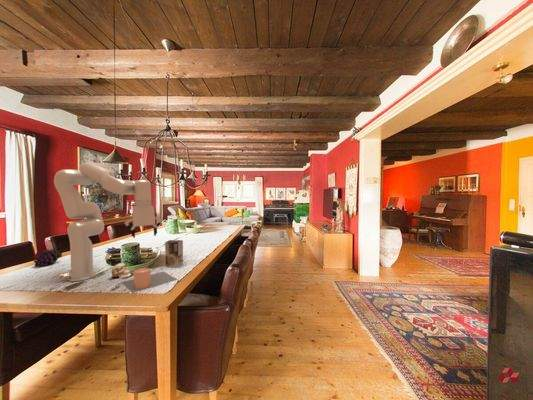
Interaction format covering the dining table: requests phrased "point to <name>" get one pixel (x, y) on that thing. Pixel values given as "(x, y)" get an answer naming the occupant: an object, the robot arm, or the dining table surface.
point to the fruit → (47, 257)
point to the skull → (120, 272)
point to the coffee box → (174, 253)
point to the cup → (142, 278)
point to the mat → (155, 281)
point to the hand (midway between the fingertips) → (144, 236)
